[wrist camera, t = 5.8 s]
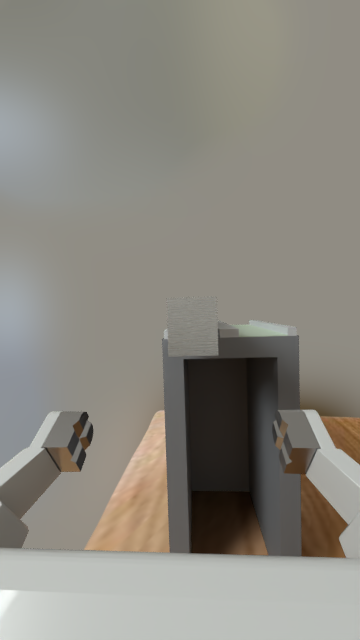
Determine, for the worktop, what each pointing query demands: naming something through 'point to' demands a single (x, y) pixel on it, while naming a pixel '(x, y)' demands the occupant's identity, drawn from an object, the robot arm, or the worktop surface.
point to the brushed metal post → (192, 326)
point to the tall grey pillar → (233, 429)
